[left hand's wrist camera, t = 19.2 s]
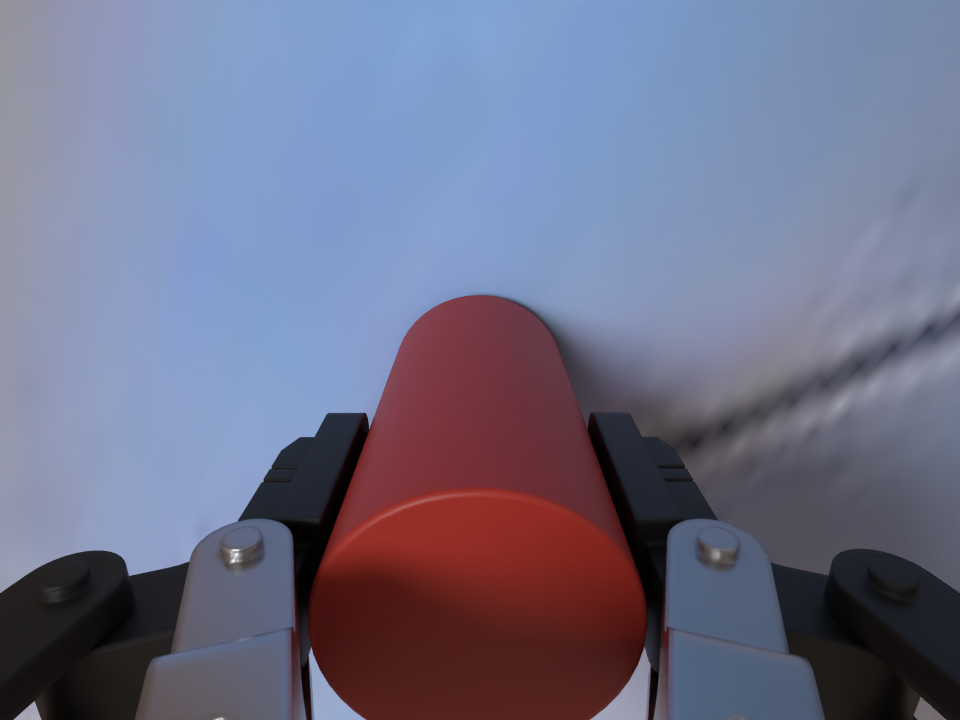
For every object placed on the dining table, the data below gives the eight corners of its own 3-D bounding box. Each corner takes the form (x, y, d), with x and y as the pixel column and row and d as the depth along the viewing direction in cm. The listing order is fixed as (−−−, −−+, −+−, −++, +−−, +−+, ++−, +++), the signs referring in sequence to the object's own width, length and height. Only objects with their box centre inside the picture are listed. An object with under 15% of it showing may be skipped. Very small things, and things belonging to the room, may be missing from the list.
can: (360, 363, 16) (232, 616, 7) (492, 258, 15) (508, 420, 6) (466, 476, 17) (454, 797, 9) (594, 387, 16) (715, 657, 8)
